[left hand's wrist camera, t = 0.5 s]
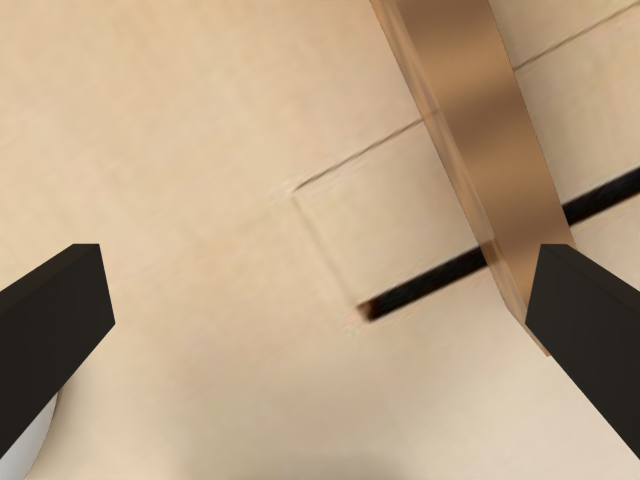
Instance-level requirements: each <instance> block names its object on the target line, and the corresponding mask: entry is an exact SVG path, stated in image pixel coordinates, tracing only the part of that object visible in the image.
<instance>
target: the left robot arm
mask: <svg viewBox="0 0 640 480" xmlns="http://www.w3.org/2000/svg"><path fill="white" fill-rule="evenodd" d="M114 325H115V319H114V314H113V309H112V304H111V299H110V295H109V290H108V285H107V280H106V275H105V270H104V265H103V260H102V255H101V250H100V245H99V244H72V245H71V246H69V247H68V248H66V249H65V250H63V251H62V252H60V253H59V254H57V255H55V256H54V257H52V258H51V259H49V260H48V261H46V262H45V263H43V264H42V265H40V266H39V267H37V268H36V269H34V270H33V271H31V272H30V273H28V274H26V275H25V276H23V277H22V278H20V279H19V280H17V281H16V282H14V283H13V284H11V285H10V286H8V287H7V288H5V289H4V290H2V291H0V460H1V458H2V457H3V456H4V455H5V454H6V452H7V451H8V450H9V449H10V448H11V447H12V445H13V444H14V443H15V442H16V441H17V439H18V438H19V437H20V436H21V435H22V434H23V432H24V431H25V430H26V429H27V428H28V426H29V425H30V424H31V423H32V422H33V421H34V419H35V418H36V417H37V416H38V415H39V413H40V412H41V411H42V410H43V409H44V408H45V406H46V405H47V404H48V403H49V402H50V401H51V399H52V398H53V397H54V396H55V395H56V393H57V392H58V391H59V390H60V389H61V388H62V386H63V385H64V384H65V383H66V382H67V380H68V379H69V378H70V377H71V376H72V375H73V373H74V372H75V371H76V370H77V369H78V367H79V366H80V365H81V364H82V363H83V362H84V360H85V359H86V358H87V357H88V356H89V354H90V353H91V352H92V351H93V350H94V349H95V347H96V346H97V345H98V344H99V343H100V341H101V340H102V339H103V338H104V337H105V336H106V334H107V333H108V332H109V331H110V330H111V328H112V327H113V326H114ZM525 325H526V326H527V327H528V328H529V330H530V331H531V332H532V333H533V334H534V336H535V337H536V338H537V339H538V340H539V341H540V343H541V344H542V345H543V346H544V347H545V349H546V350H547V351H548V352H549V353H550V354H551V356H552V357H553V358H554V359H555V360H556V362H557V363H558V364H559V365H560V366H561V367H562V369H563V370H564V371H565V372H566V373H567V375H568V376H569V377H570V378H571V379H572V380H573V382H574V383H575V384H576V385H577V386H578V388H579V389H580V390H581V391H582V392H583V393H584V395H585V396H586V397H587V398H588V399H589V401H590V402H591V403H592V404H593V405H594V406H595V408H596V409H597V410H598V411H599V412H600V413H601V415H602V416H603V417H604V418H605V419H606V421H607V422H608V423H609V424H610V425H611V426H612V428H613V429H614V430H615V431H616V432H617V434H618V435H619V436H620V437H621V438H622V439H623V441H624V442H625V443H626V444H627V445H628V447H629V448H630V449H631V450H632V451H633V452H634V454H635V455H636V456H637V457H638V458H639V460H640V291H638V290H636V289H635V288H633V287H632V286H630V285H629V284H627V283H626V282H624V281H623V280H621V279H620V278H618V277H617V276H615V275H614V274H612V273H610V272H609V271H607V270H606V269H604V268H603V267H601V266H600V265H598V264H597V263H595V262H594V261H592V260H591V259H589V258H588V257H586V256H585V255H583V254H581V253H580V252H578V251H577V250H575V249H574V248H572V247H571V246H569V245H568V244H541V245H540V250H539V255H538V260H537V265H536V270H535V275H534V280H533V285H532V290H531V295H530V299H529V304H528V309H527V314H526V319H525Z"/></svg>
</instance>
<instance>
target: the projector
mask: <svg viewBox="0 0 640 480" xmlns="http://www.w3.org/2000/svg"><path fill="white" fill-rule="evenodd" d="M57 394H58V392H57V393H56V395H55V396H54V397H53V398H52V399H51V401H50V402H49V403H48V404H47V405H46V406H45V408H44V409H43V410H42V411H41V412H40V413H39V415H38V416H37V417H36V418H35V419H34V421H33V422H32V423H31V424H30V425H29V426H28V428H27V429H26V430H25V431H24V432H23V434H22V435H21V436H20V437H19V438H18V439H17V441H16V442H15V443H14V444H13V445H12V447H11V448H10V449H9V450H8V451H7V452H6V454H5V455H4V456H3V457H2V458H1V460H0V480H24V478H25V477H26V475H27V474H28V472H29V470H30V468H31V467H32V465H33V463H34V461H35V459H36V457H37V455H38V453H39V451H40V449H41V447H42V445H43V443H44V440H45V438H46V435H47V432H48V430H49V427H50V423H51V420H52V417H53V413H54V409H55V404H56V400H57Z"/></svg>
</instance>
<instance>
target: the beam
mask: <svg viewBox="0 0 640 480" xmlns="http://www.w3.org/2000/svg"><path fill="white" fill-rule="evenodd" d="M370 2H371V5H372V7H373V9H374V11H375V14H376V16H377V18H378V20H379V23H380V25H381V27H382V29H383V32H384V34H385V36H386V38H387V40H388V43H389V45H390V47H391V49H392V52H393V54H394V56H395V58H396V61H397V63H398V65H399V67H400V70H401V72H402V74H403V76H404V79H405V81H406V83H407V85H408V87H409V90H410V92H411V94H412V96H413V99H414V101H415V103H416V105H417V108H418V110H419V112H420V114H421V117H422V119H423V121H424V123H425V125H426V128H427V130H428V132H429V134H430V137H431V139H432V141H433V143H434V146H435V148H436V150H437V152H438V155H439V157H440V159H441V161H442V163H443V166H444V168H445V170H446V172H447V175H448V177H449V179H450V181H451V184H452V186H453V188H454V190H455V193H456V195H457V197H458V199H459V202H460V204H461V206H462V208H463V210H464V213H465V215H466V217H467V219H468V222H469V224H470V226H471V228H472V231H473V233H474V235H475V237H476V240H477V242H478V244H479V246H480V248H481V251H482V253H483V255H484V257H485V260H486V262H487V264H488V266H489V269H490V271H491V273H492V275H493V278H494V280H495V282H496V284H497V286H498V289H499V291H500V293H501V295H502V298H503V300H504V302H505V304H506V307H507V309H508V310H509V311H510V312H511V314H512V315H513V316H514V317H515V318H516V320H517V321H518V322H519V323H520V325H521V326H522V327H523V328H524V329H525V331H526V332H527V333H528V334H529V335H530V337H531V338H532V339H533V340H534V342H535V343H536V344H537V345H538V346H539V348H540V349H541V350H542V351H543V352H544V354H545V355H546V356H547V357H548V356H550V355H551V354H550V353H549V352H548V351H547V350H546V349H545V347H544V346H543V345H542V344H541V343H540V341H539V340H538V339H537V338H536V337H535V336H534V334H533V333H532V332H531V331H530V330H529V328H528V327H527V326H526V325H525V319H526V314H527V309H528V304H529V299H530V295H531V290H532V285H533V280H534V275H535V270H536V265H537V260H538V255H539V250H540V245H541V244H568V245H569V246H571V247H572V248H574V249H575V250H577V248H576V245H575V243H574V240H573V237H572V234H571V231H570V229H569V226H568V223H567V220H566V218H565V215H564V212H563V209H562V206H561V204H560V201H559V198H558V195H557V192H556V190H555V187H554V184H553V181H552V178H551V176H550V173H549V170H548V167H547V164H546V162H545V159H544V156H543V153H542V150H541V148H540V145H539V142H538V139H537V136H536V134H535V131H534V128H533V125H532V122H531V120H530V117H529V114H528V111H527V109H526V106H525V103H524V100H523V97H522V95H521V92H520V89H519V86H518V83H517V81H516V78H515V75H514V72H513V69H512V67H511V64H510V61H509V58H508V55H507V53H506V50H505V47H504V44H503V41H502V39H501V36H500V33H499V30H498V27H497V25H496V22H495V19H494V16H493V14H492V11H491V8H490V5H489V2H488V0H370Z"/></svg>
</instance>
